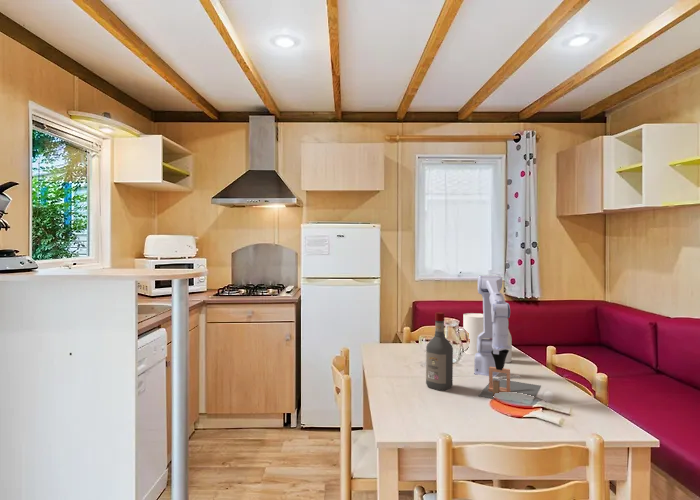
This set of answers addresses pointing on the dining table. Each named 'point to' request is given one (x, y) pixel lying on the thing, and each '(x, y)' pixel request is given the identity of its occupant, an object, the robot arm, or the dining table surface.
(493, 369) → the orange rectangular frame
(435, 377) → the liquor
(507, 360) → the milk bottle
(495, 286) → the robot arm
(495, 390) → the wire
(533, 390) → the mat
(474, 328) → the canister
